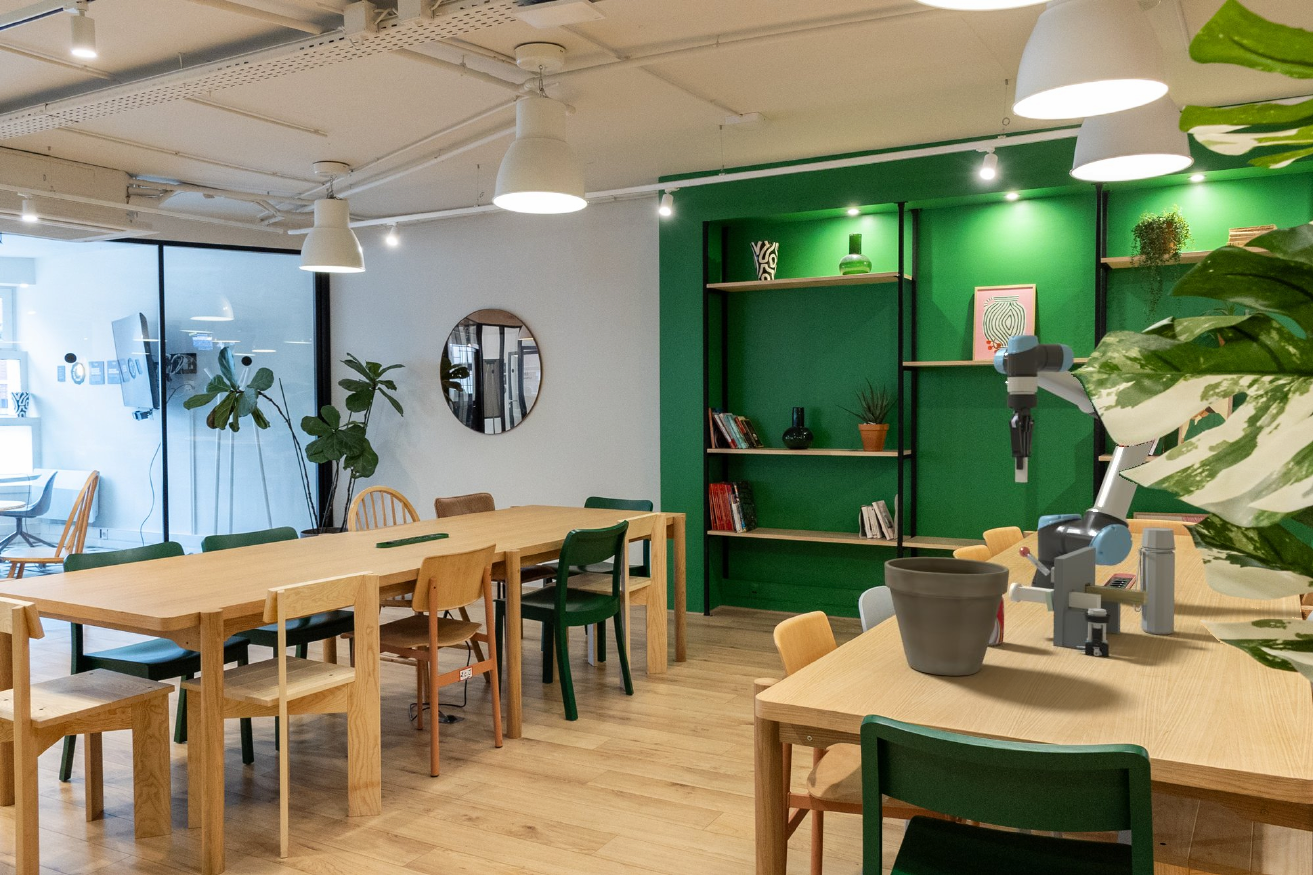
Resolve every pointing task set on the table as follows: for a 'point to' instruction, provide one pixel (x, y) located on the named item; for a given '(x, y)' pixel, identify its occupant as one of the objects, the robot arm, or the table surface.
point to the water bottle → (1157, 580)
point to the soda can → (998, 627)
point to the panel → (1073, 577)
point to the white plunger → (1038, 594)
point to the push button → (1096, 633)
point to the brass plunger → (1118, 594)
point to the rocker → (1050, 600)
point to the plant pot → (945, 610)
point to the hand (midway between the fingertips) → (1021, 481)
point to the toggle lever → (1033, 560)
